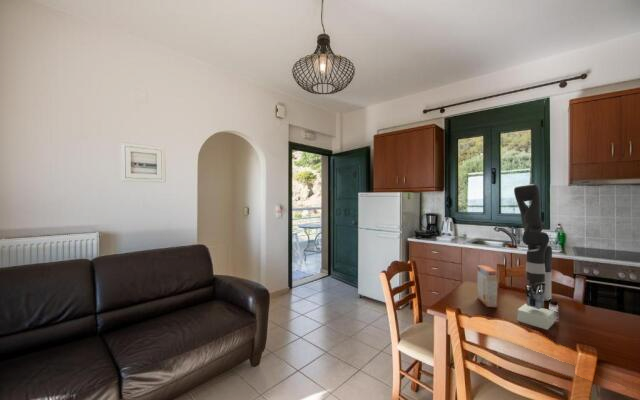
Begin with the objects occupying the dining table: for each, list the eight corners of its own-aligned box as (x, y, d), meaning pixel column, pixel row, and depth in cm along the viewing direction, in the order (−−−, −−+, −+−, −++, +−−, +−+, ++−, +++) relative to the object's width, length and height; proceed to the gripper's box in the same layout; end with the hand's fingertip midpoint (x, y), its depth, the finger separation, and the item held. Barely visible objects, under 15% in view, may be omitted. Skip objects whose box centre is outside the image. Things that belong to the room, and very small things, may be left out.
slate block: (532, 303, 139) (532, 290, 139) (544, 307, 135) (544, 293, 135) (527, 305, 137) (527, 291, 137) (538, 309, 133) (538, 295, 133)
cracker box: (498, 308, 153) (497, 271, 153) (486, 307, 154) (486, 271, 154) (487, 298, 167) (487, 265, 166) (477, 298, 168) (477, 264, 168)
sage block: (525, 314, 144) (525, 303, 144) (554, 323, 135) (554, 311, 135) (517, 321, 137) (517, 309, 137) (547, 330, 128) (547, 317, 128)
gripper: (534, 267, 142) (534, 299, 142) (519, 271, 136) (519, 304, 136) (551, 271, 135) (552, 304, 136) (536, 275, 129) (536, 310, 129)
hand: (535, 304), depth 136 cm, fingers closed on slate block, 5 cm apart
